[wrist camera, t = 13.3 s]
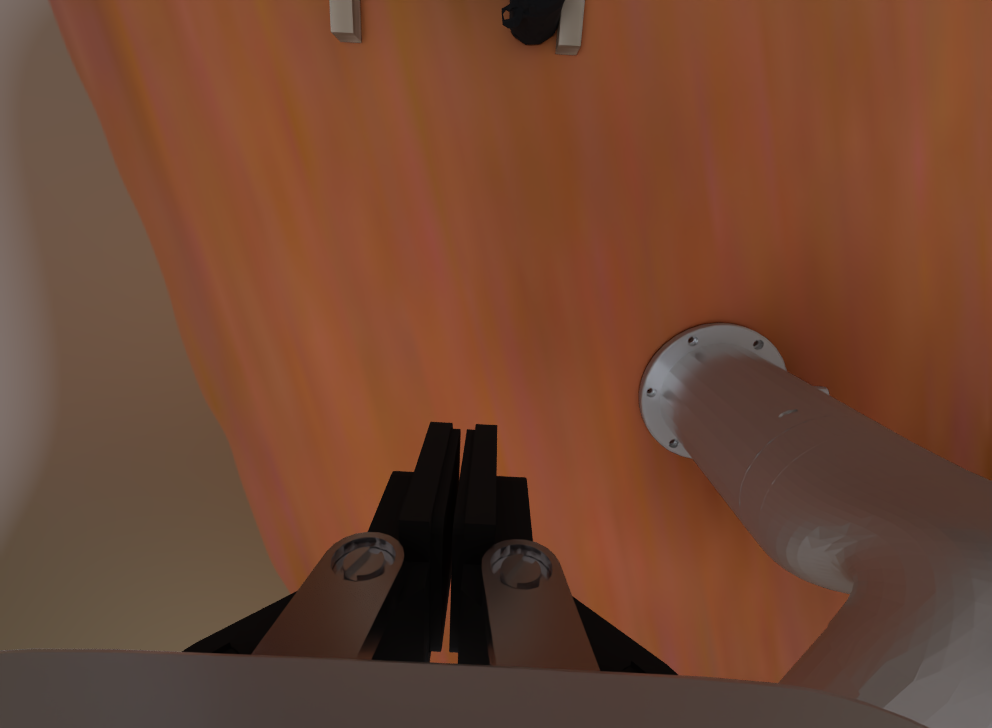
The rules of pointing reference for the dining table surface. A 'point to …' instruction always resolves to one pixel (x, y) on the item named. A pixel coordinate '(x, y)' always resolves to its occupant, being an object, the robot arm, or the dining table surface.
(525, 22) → the film camera
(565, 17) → the camera rest
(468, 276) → the dining table surface
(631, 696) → the robot arm
